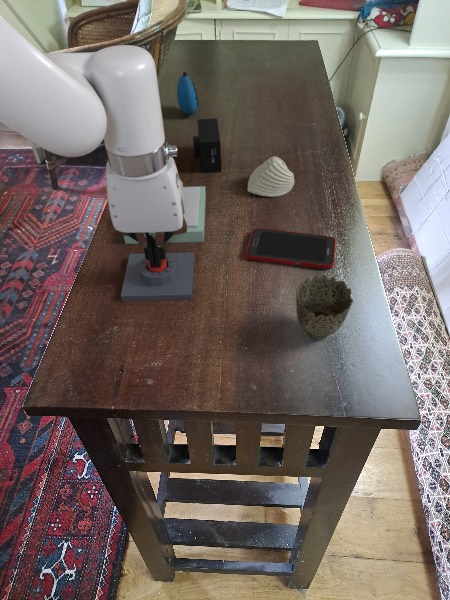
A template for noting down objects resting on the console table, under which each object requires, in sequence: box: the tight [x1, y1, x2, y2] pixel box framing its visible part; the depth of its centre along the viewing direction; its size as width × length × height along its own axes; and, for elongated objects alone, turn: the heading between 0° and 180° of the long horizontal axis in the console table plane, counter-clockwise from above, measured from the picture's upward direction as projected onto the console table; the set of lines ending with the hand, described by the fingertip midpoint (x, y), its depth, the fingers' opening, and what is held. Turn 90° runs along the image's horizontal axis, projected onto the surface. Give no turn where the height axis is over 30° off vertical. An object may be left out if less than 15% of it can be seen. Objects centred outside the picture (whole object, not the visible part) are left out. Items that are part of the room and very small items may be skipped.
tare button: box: [147, 259, 167, 273], centre depth 73 cm, size 3×3×2 cm
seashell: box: [247, 156, 295, 198], centre depth 90 cm, size 8×8×8 cm
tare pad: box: [120, 251, 196, 302], centre depth 74 cm, size 11×10×3 cm
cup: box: [295, 274, 354, 341], centre depth 63 cm, size 8×7×8 cm
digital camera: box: [192, 117, 222, 174], centre depth 98 cm, size 10×5×7 cm, turn 4°
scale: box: [123, 185, 207, 245], centre depth 85 cm, size 14×14×3 cm
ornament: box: [176, 71, 199, 116], centre depth 112 cm, size 8×5×10 cm, turn 22°
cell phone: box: [245, 227, 337, 270], centre depth 78 cm, size 8×15×1 cm, turn 78°
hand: (156, 261), depth 72 cm, fingers closed
